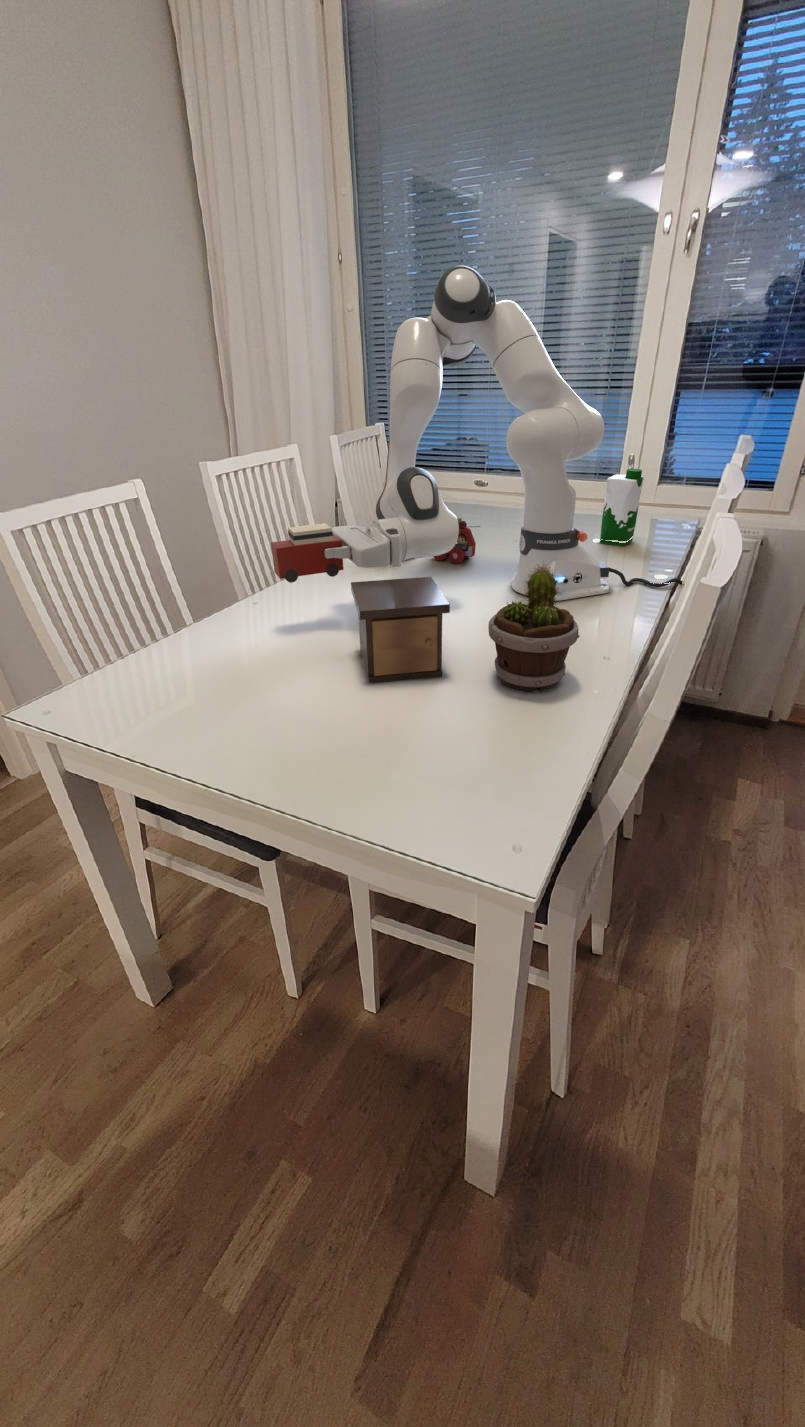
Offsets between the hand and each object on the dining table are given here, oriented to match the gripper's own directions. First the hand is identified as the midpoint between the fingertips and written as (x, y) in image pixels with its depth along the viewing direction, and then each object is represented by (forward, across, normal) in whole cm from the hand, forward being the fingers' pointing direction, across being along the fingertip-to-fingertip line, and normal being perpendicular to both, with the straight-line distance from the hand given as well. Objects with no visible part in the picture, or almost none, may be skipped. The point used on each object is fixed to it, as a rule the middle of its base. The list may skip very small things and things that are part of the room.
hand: (319, 549), depth 128 cm
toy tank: (-54, -51, +16) cm, 76 cm away
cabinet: (-7, +24, +16) cm, 30 cm away
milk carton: (-95, -26, +16) cm, 100 cm away
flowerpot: (-25, +40, +16) cm, 50 cm away
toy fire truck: (-45, -31, +16) cm, 56 cm away
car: (+3, 0, +5) cm, 6 cm away
